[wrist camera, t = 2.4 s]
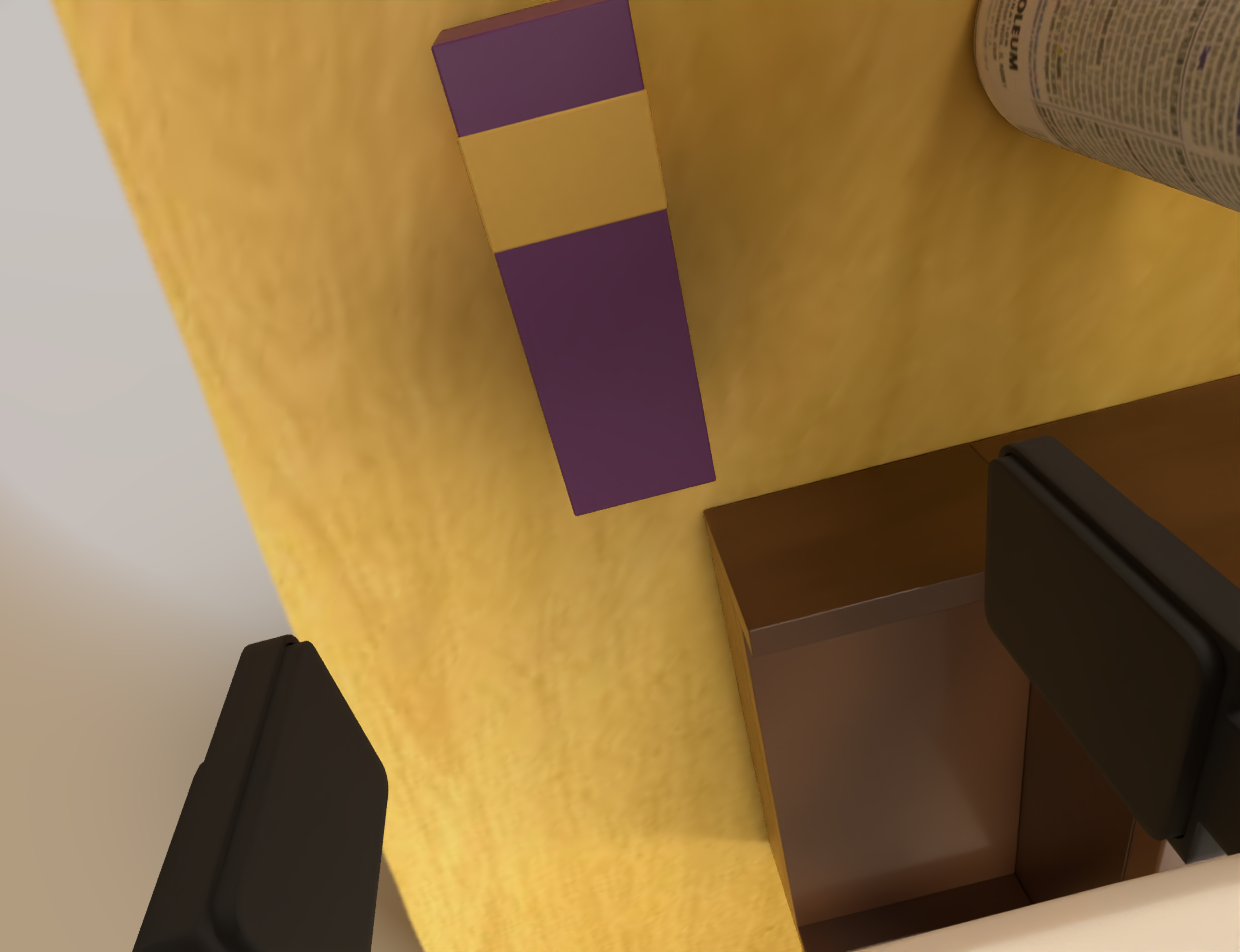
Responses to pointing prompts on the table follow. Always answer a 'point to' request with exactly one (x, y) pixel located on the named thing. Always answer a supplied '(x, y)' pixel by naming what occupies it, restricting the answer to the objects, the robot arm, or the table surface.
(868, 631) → the step rack
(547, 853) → the table surface
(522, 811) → the table surface
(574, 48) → the purple banded block
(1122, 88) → the spray can
